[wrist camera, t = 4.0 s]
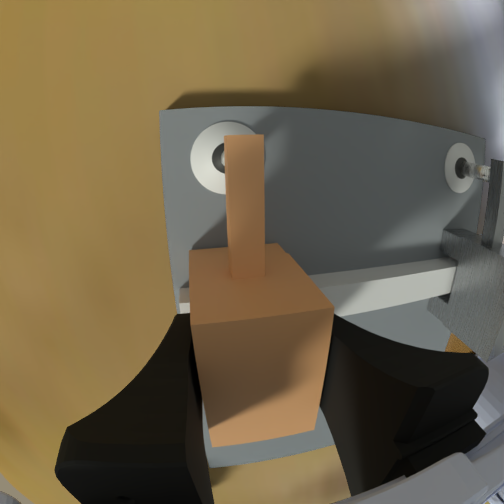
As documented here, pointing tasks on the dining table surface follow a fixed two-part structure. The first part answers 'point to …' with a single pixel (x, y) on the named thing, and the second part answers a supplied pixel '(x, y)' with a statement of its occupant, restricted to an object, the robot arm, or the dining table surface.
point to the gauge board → (329, 218)
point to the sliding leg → (255, 318)
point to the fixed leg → (477, 272)
